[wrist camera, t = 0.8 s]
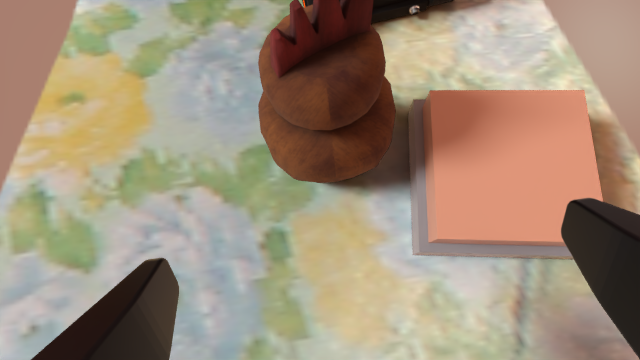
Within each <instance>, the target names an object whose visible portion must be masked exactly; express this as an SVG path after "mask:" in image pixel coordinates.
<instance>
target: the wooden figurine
mask: <svg viewBox="0 0 640 360" xmlns="http://www.w3.org/2000/svg"><path fill="white" fill-rule="evenodd" d="M372 9H373V0H340V2H339V0H313V5H310V6H307V7H304V8H303V7H302V5H301V4H300V2H299V1H298V0H294V1H292V2H291V3H290V15H288V16H286V17H285V18H283V20H282V21H281V22H280V23H279V24H278V25H277V26H276V27H275V28H274V29H273V30H272V31H271V32H270V34H269V35H268V36H267V38H266V40H265V42H264V45H263V47H262V49H261V51H260V55H259V62H258V64H259V71H260V78H261V83H262V87H263V94H262V96H261V99H260V102H259V119H260V128H261V133H262V135H263V137H264V139H265V141H266V143H267V145H268V147H269V150H270V152H271V155H272V157H273V159H274V161H275V162H276V164H277V165H278V166H279V167H280V168H282V169H283V170H284V171H285V172H286V173H288V174H289V175H290V176H291V177H293V178H294V179H296V180H300V181H309V182H317V183H325V182H337V181H341V180H345V179H349V178H353V177H355V176H358V175H360V174H362V173H364V172H367V171H369V170H371V169H373V168H374V167H376V166H377V165H378V163H379V162H380V160H381V159H382V157H383V156H384V154H385V153H386V151H387V149H388V148H389V145H390V143H391V140H392V133H393V126H394V120H395V113H396V110H395V105H394V100H393V95H392V90H391V84H390V83H389V81H388V80H387V79H386V78H385V76H384V74H385V63H386V62H385V57H384V51H383V45H382V42H381V39H380V36H379V34H378V33H377V32H376V31H375V29H374V28H373V27H372V26H371V18H372Z"/></svg>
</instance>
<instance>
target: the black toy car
mask: <svg viewBox="0 0 640 360" xmlns="http://www.w3.org/2000/svg"><path fill="white" fill-rule="evenodd" d="M302 1H303V6H304V7H307V6H310V5H313V0H302ZM449 1H453V0H373V9H372V18H371V23H375V22H379V21H383V20H387V19H391V18H395V17H399V16H403V15H407V14H412V15H414V14H417V13H419V12H420V11H424V10H426V8H427V7H429V6H433V5H437V4H441V3H445V2H449ZM339 2H340V0H339Z"/></svg>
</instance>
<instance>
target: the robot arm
mask: <svg viewBox="0 0 640 360" xmlns="http://www.w3.org/2000/svg"><path fill="white" fill-rule="evenodd" d="M561 236H562V239H563V241H564V243H565V245H566V246H567V248H568V250H569V252H570V253H571V255H572V257H573V259H574V260H575V262H576V264H577V266H578V267H579V269H580V271H581V273H582V274H583V276H584V278H585V280H586V281H587V283H588V285H589V287H590V288H591V290H592V292H593V293H594V295H595V296H596V298H597V300H598V301H599V303H600V304H601V306H602V307H603V309H604V310H605V311H606V313H607V314H608V316H609V317H610V318H611V320H612V321H613V323H614V324H615V325H616V327H617V328H618V330H619V331H620V332H621V334H622V335H623V337H624V338H625V339H626V341H627V342H628V344H629V345H630V346H631V348H632V349H633V350H634V352H635V353H636V355H637V356H638V357H639V359H640V215H638V214H635V213H633V212H630V211H627V210H624V209H622V208H619V207H616V206H613V205H611V204H608V203H605V202H602V201H599V200H597V199H594V198H582V199H575V200H572V201H570V202H569V203H568V205H567V207H566V211H565V215H564V219H563V223H562V226H561ZM178 297H179V285H178V282H177V280H176V278H175V276H174V274H173V271H172V269H171V267H170V265H169V263H168V261H167V260H166V259H164V258H156V259H149V260H146V261H144V262H143V263H142V264H141V265H139V266H138V267H137V268H136V269H135V270H134V271H132V272H131V273H130V274H129V275H128V276H127V277H126V278H124V279H123V280H122V281H121V282H120V283H119V284H117V285H116V286H115V287H114V288H113V289H112V290H111V291H109V292H108V293H107V294H106V295H105V296H104V297H103V298H101V299H100V300H99V301H98V302H97V303H96V304H94V305H93V306H92V307H91V308H90V309H89V310H88V311H86V312H85V313H84V314H83V315H82V316H81V317H79V318H78V319H77V320H76V321H75V322H74V323H73V324H71V325H70V326H69V327H68V328H67V329H66V330H65V331H63V332H62V333H61V334H60V335H59V336H58V337H56V338H55V339H54V340H53V341H52V342H51V343H50V344H48V345H47V346H46V347H45V348H44V349H43V350H41V351H40V352H39V353H38V354H37V355H36V356H35V357H33V358H32V359H31V360H169V358H170V352H171V346H172V339H173V332H174V325H175V318H176V311H177V304H178Z"/></svg>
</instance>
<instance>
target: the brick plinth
mask: <svg viewBox="0 0 640 360" xmlns="http://www.w3.org/2000/svg"><path fill="white" fill-rule="evenodd" d="M408 125H409V155H410V186H411V216H412V246H413V255H441V256H477V257H513V258H550V259H573V257H572V255H571V253H570V252H569V250H568V248H567V246H566V245H565V243H564V241H563V239H562V236H561V226H562V223H563V219H564V215H565V211H566V207H567V205H568V203H569V202H570V201H572V200H575V199H582V198H594V199H597V200H599V201H602V202H603V198H602V192H601V186H600V180H599V175H598V169H597V163H596V157H595V151H594V145H593V139H592V134H591V128H590V122H589V116H588V110H587V104H586V98H585V92H584V90H439V91H430V92H429V94H428V96H427V98H426V100H413V103H412V105H411V108H410V110H409V113H408Z"/></svg>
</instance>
